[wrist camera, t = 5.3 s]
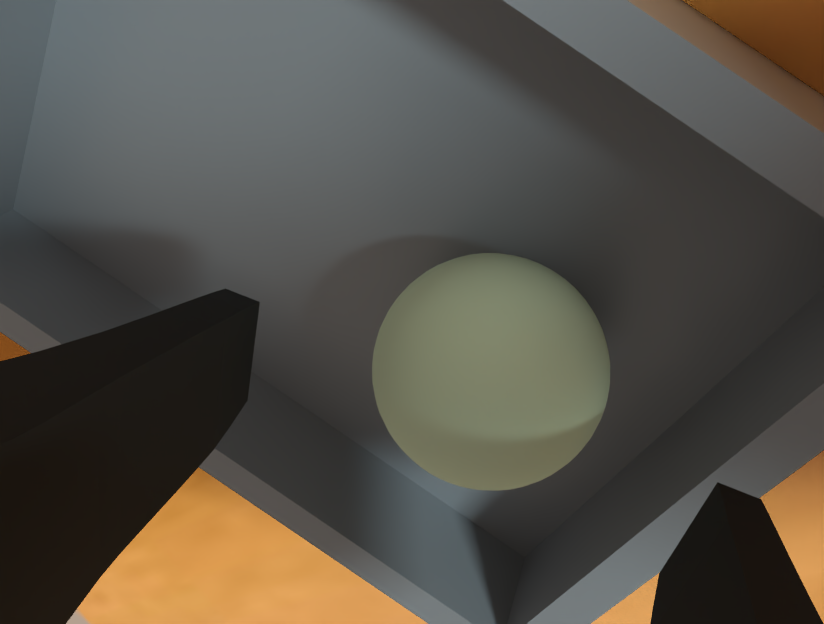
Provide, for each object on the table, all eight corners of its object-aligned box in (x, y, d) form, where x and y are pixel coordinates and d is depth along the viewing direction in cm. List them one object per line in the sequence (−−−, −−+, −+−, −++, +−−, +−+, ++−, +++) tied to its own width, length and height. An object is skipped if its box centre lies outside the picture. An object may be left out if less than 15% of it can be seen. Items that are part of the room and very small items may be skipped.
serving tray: (974, 198, 12) (1047, 284, 9) (539, 573, 18) (512, 681, 16) (113, -385, 12) (-48, -457, 9) (-1, 206, 18) (-110, 257, 16)
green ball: (650, 256, 13) (640, 386, 10) (579, 425, 15) (551, 577, 12) (434, 189, 14) (356, 290, 10) (395, 360, 16) (320, 489, 13)
